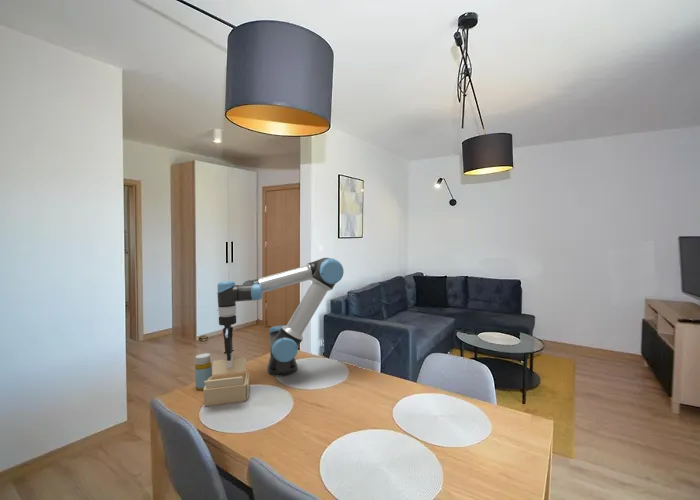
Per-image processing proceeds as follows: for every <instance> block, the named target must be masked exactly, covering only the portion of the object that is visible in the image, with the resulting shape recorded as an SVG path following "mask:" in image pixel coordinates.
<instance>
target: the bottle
mask: <svg viewBox="0 0 700 500" xmlns="http://www.w3.org/2000/svg"><path fill="white" fill-rule="evenodd" d="M194 370H195V371H194V372H195V373H194V374H195V389H196V390H197V391H203V389H204V387H205V382H204V381H207V380H208V378H210V377H212V376H213V375H212V371H213V364H212V362H211V353H207V352H205V353H199V354H197V355H196V356H195V366H194Z"/></svg>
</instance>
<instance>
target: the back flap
mask: <svg viewBox="0 0 700 500" xmlns="http://www.w3.org/2000/svg"><path fill="white" fill-rule="evenodd" d="M246 371H247V358H246V356H245V357H237V358H233V367H229V368H226V359H218V360H212V376H220V375H229V374H237V373H246Z"/></svg>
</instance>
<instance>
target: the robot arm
mask: <svg viewBox="0 0 700 500" xmlns="http://www.w3.org/2000/svg"><path fill="white" fill-rule="evenodd" d="M343 276H344V267H343V264H342V263H341V262H340V261H338V259H335V258H330V257H322V258H320V259H317V260H315V261H311V262H308V263H307V264H306V265H304V266H303V265H302V266H300V267H297V268H296V267H295V268H291V269H289V270H286V271H282V272H278V273H273V274H270V275H266V276H263V277H259V278H256V279H251V280H250V279H248V280H245V281H244V282H243V283H242V284H236V282H235V281H234V280H225V281H220V282H218V283H217V293H216V294H217V306H218V308H217V309H216V311H217V312H218V324H219V326H224V327H223V329H222V333H223V342H224V352H223V355H225V360H226V368H229V367H233V359H234V358H233V352H234V351H235V349H234V348H233V335H234V333H233V331H234V327H233V325H236V323H237V315H236V314H237V304H236V303H237V302H248V301H251V302H252V301H254V302H255V301H259V300H262V299H263V293H267V292H269V291H270V292H271V291H274V290H277V289H281V288H284V287H288V286H291V285H296V284H299V283H302V282H306V281H311V284H310V286H309V287H308V289H307V291H306V292H305V294H304V296H303V298H302V299H301V301H300V303H299V304H298V306H297V307H296V309H294V312H293V314H292V316H291V317H290V319H289V320H288V322H287V324H286V325H285V324H284V325H283V324H282V325H275V326H271V327H270V328H269V349H270V351H269V353H270V354H269V355H270V357H269V361H268V364H267V368H266V369H267V374H269V375H271V376H274V377H275V376H276V377H281V376H282V377H283V376H288V375H292V374H294V373H295V372H297V370H298V364H297V361H296V358H295V357H296V356H297V355H298V352H299V351H298V350H299V346H300V345H301V342H302V341H303V340H304V339H303V334H304V332H305V330H306V328H307V327H308V325H309V323H310V321H311V319H312V318H313V317H314V315H315V313H316V312H317V310H318V308H319V306H320V305H321V303H322V301H323V300H324V298H325V296H326V294H327V293H328V292H329V291H332V290H333V288H334V287H335V285H336V284H337V283H339V282H340V281H341V280H342V278H343Z"/></svg>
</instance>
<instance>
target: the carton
mask: <svg viewBox="0 0 700 500" xmlns="http://www.w3.org/2000/svg"><path fill="white" fill-rule="evenodd" d="M233 377H242V378H243V384H242V385H234V386H226V387H218V388H209V389H207V388H206V385H205V387H204V389H203V390H202V392H203V405H205V408H207V407H214V406H215V405H216V406H222V405H223V404H224V405H229V404H230V405H231V404H240V403H245V402H246V403H247V400H248V399H249V395H250V388H251V386H250V372H248V371H247V372H237V373H228V374H219V375H212V377H210V378H208V380H216V379H225V378H233Z"/></svg>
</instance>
